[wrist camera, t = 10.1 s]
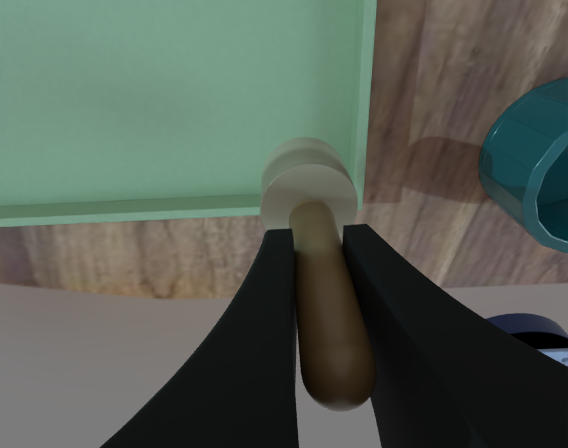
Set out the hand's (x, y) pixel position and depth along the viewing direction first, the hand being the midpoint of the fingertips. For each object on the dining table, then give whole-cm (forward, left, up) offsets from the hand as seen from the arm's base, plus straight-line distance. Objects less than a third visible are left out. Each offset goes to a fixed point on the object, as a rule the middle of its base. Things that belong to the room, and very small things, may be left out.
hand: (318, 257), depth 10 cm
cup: (-1, -13, -10) cm, 16 cm away
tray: (+3, +10, -10) cm, 14 cm away
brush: (0, 0, -5) cm, 5 cm away
